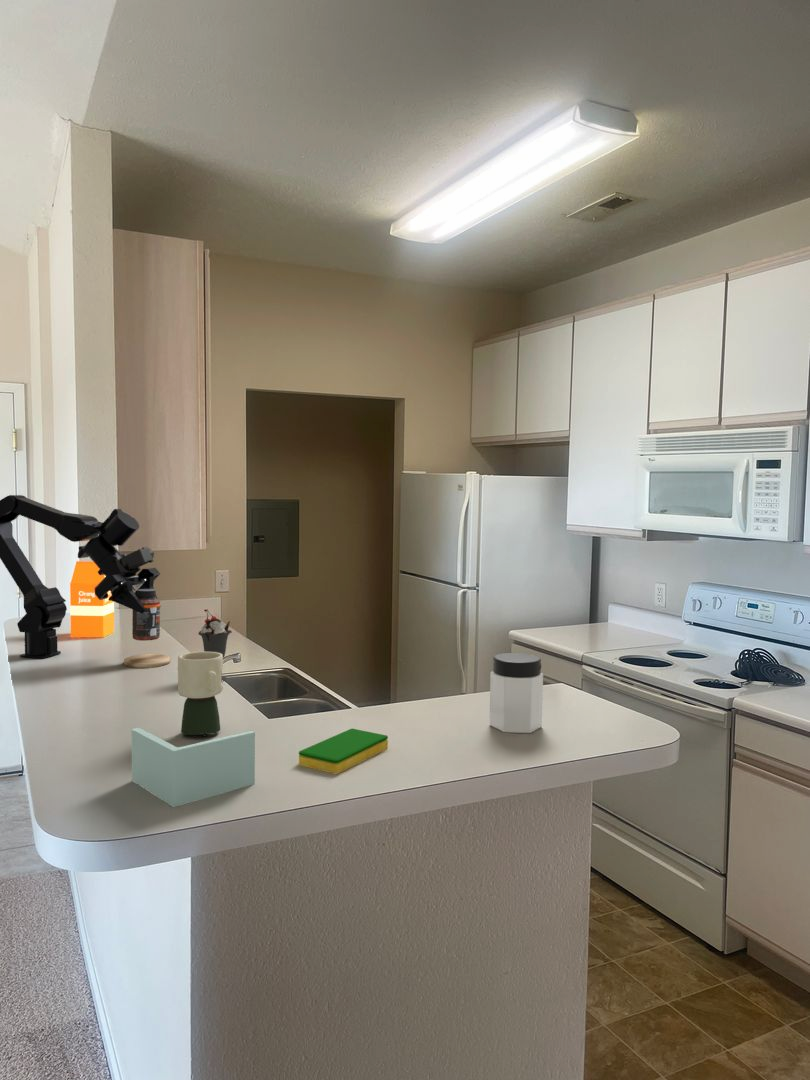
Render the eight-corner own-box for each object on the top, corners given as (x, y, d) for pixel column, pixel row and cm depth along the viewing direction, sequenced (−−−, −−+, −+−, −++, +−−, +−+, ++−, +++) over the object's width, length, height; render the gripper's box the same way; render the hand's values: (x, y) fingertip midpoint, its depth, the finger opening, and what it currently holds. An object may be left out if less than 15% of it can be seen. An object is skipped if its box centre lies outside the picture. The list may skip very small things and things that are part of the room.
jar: (550, 730, 134) (552, 660, 134) (510, 736, 131) (511, 664, 130) (520, 716, 142) (522, 650, 142) (481, 722, 139) (483, 654, 138)
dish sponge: (388, 750, 125) (388, 735, 124) (336, 777, 113) (336, 760, 113) (351, 742, 128) (351, 727, 128) (297, 767, 116) (297, 751, 116)
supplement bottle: (161, 640, 180) (162, 590, 179) (134, 642, 177) (134, 591, 176) (157, 635, 185) (158, 587, 184) (130, 637, 182) (131, 588, 182)
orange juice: (103, 638, 210) (102, 563, 209) (70, 637, 210) (69, 562, 209) (114, 632, 218) (113, 560, 217) (82, 632, 218) (81, 559, 217)
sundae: (191, 681, 165) (191, 609, 164) (211, 674, 171) (211, 605, 170) (218, 684, 163) (218, 611, 162) (237, 677, 169) (237, 607, 168)
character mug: (235, 738, 128) (235, 658, 127) (193, 746, 124) (193, 664, 123) (207, 722, 137) (207, 647, 136) (167, 729, 132) (166, 652, 131)
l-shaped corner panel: (254, 786, 109) (254, 732, 108) (173, 809, 100) (173, 751, 100) (209, 763, 117) (209, 713, 117) (131, 783, 109) (131, 729, 109)
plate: (114, 666, 178) (114, 661, 178) (140, 657, 188) (140, 652, 188) (154, 669, 175) (154, 664, 175) (178, 660, 185) (178, 655, 185)
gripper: (106, 538, 171) (152, 591, 170) (152, 533, 190) (194, 582, 188) (74, 572, 174) (119, 625, 172) (123, 564, 192) (164, 613, 190)
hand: (151, 610), depth 180 cm, fingers closed on supplement bottle, 6 cm apart
